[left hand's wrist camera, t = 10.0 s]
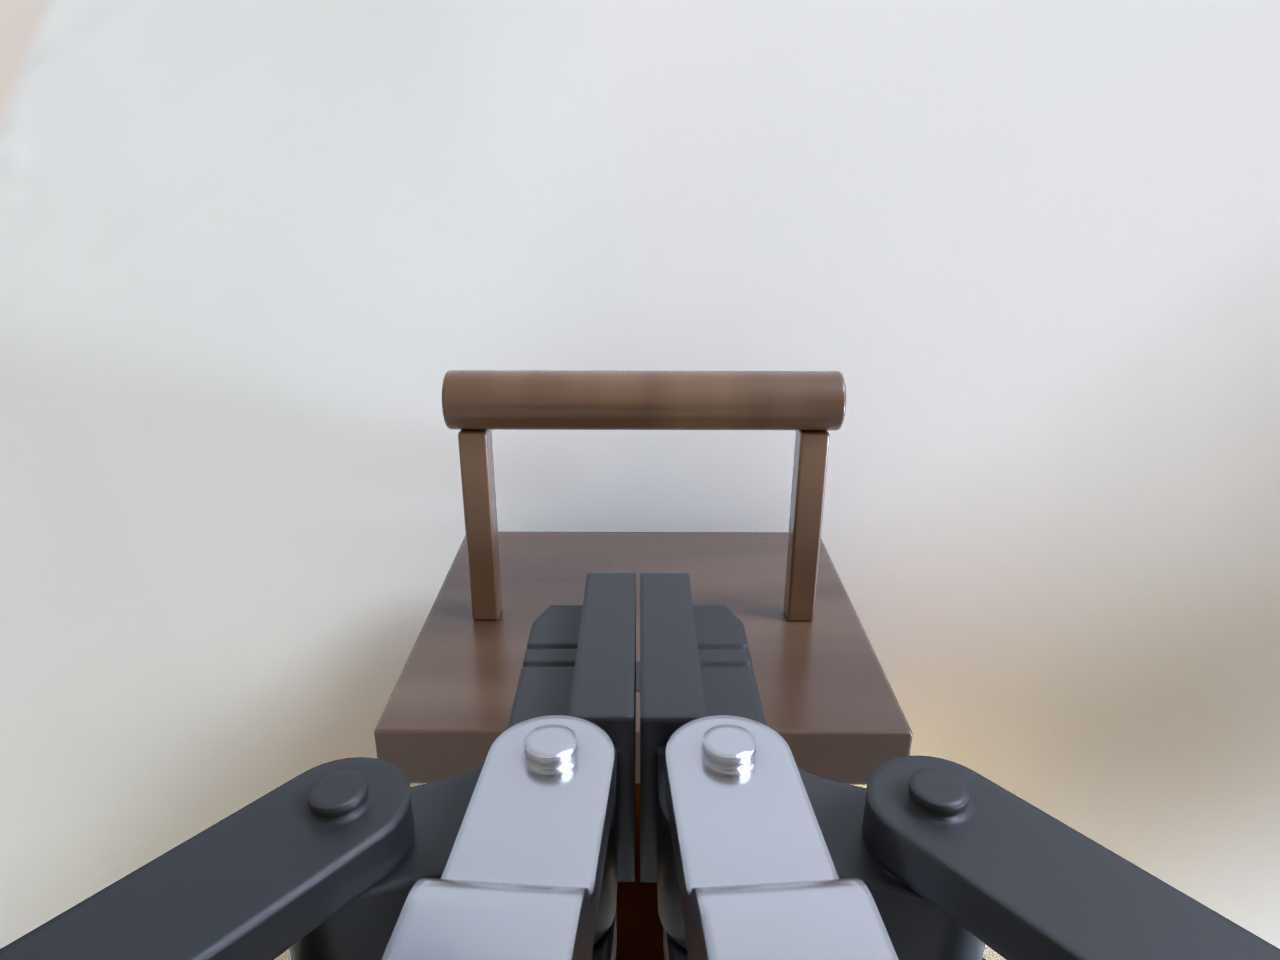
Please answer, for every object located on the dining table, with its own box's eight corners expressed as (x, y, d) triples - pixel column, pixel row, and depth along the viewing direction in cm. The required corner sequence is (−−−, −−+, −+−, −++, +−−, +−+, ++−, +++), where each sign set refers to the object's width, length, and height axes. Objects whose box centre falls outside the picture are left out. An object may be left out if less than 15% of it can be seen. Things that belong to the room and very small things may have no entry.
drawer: (450, 328, 21) (332, 433, 13) (836, 329, 21) (957, 435, 13) (503, 1002, 30) (451, 1319, 22) (778, 1002, 30) (829, 1320, 22)
